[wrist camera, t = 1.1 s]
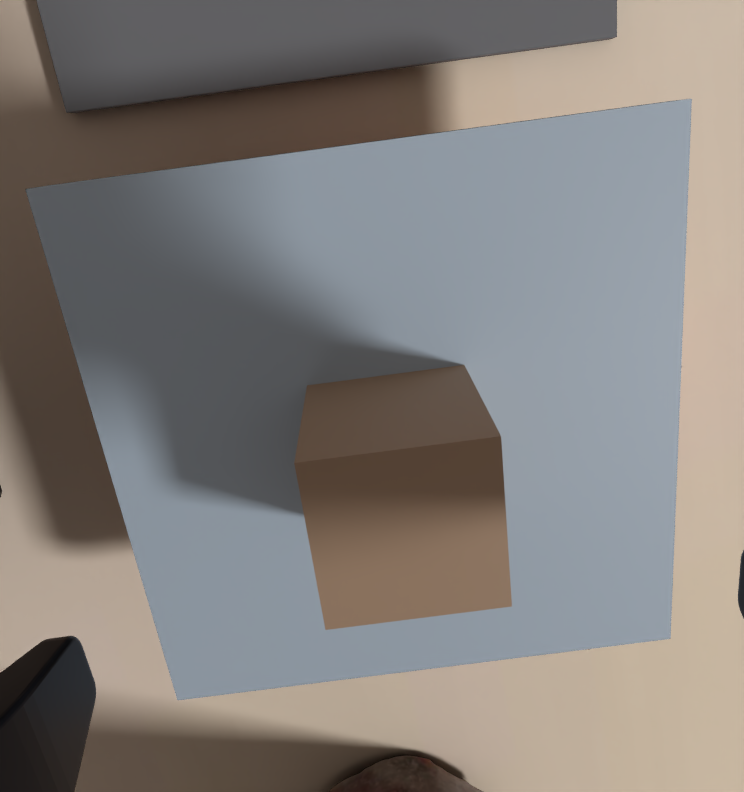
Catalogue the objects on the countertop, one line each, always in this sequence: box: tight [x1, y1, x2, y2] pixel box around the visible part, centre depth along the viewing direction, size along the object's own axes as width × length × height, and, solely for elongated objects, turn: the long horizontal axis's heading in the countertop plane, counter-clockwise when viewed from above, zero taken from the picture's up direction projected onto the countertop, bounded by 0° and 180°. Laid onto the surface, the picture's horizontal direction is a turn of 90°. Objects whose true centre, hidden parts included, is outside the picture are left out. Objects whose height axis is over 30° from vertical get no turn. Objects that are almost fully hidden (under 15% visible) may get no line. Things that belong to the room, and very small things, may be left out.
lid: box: [25, 99, 692, 700], centre depth 13 cm, size 12×12×4 cm
